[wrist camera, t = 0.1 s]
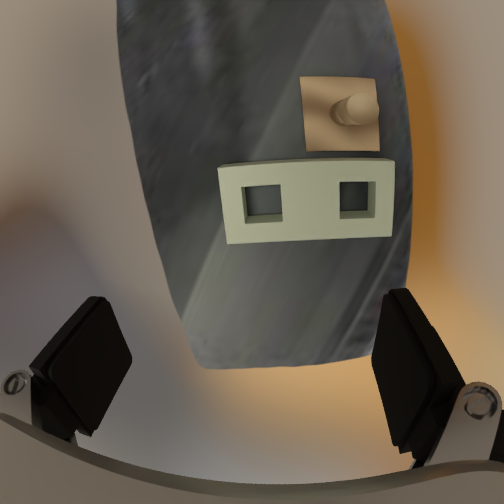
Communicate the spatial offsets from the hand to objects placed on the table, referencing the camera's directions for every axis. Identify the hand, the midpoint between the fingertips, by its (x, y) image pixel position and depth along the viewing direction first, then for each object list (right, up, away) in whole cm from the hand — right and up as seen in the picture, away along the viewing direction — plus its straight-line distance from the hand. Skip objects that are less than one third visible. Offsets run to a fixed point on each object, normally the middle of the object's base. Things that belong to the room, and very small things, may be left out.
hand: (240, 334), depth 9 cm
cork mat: (+12, +21, +24) cm, 33 cm away
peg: (+12, +20, +23) cm, 33 cm away
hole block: (+8, +10, +29) cm, 31 cm away
